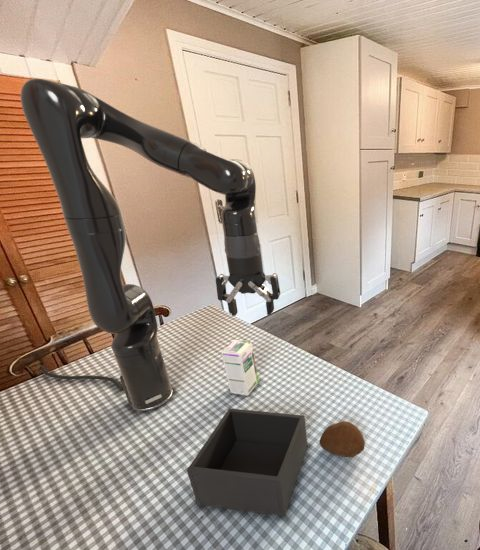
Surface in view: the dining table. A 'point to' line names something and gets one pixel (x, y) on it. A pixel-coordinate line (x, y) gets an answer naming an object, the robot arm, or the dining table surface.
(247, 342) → the syrup box
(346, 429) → the potato
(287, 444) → the basket
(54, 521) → the dining table surface
